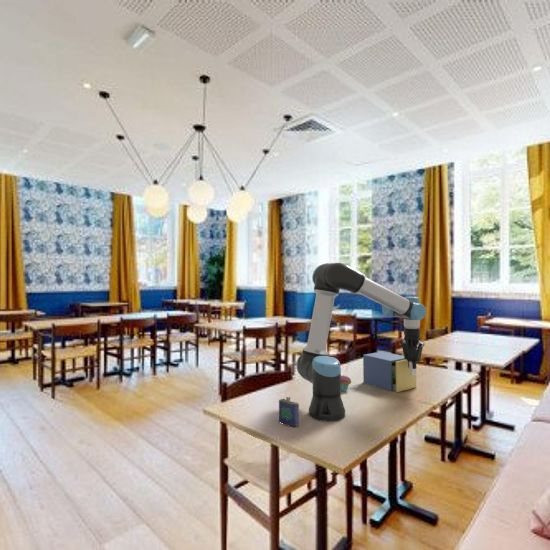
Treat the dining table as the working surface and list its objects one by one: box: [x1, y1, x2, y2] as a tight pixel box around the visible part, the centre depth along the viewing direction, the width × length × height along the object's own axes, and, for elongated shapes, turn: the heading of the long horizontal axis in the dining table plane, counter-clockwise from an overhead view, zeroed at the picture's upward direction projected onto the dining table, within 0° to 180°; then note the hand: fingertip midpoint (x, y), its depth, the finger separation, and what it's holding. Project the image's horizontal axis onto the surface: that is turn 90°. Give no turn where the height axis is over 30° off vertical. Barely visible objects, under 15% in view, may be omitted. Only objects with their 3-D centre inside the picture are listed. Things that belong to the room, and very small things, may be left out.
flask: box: [278, 396, 300, 428], centre depth 148 cm, size 9×3×11 cm, turn 51°
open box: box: [362, 351, 405, 391], centre depth 201 cm, size 15×18×15 cm
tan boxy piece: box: [392, 360, 417, 393], centre depth 198 cm, size 15×17×15 cm
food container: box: [392, 365, 396, 384], centre depth 197 cm, size 12×6×10 cm, turn 68°
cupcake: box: [341, 375, 352, 392], centre depth 192 cm, size 9×8×12 cm
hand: (412, 374), depth 188 cm, fingers closed
